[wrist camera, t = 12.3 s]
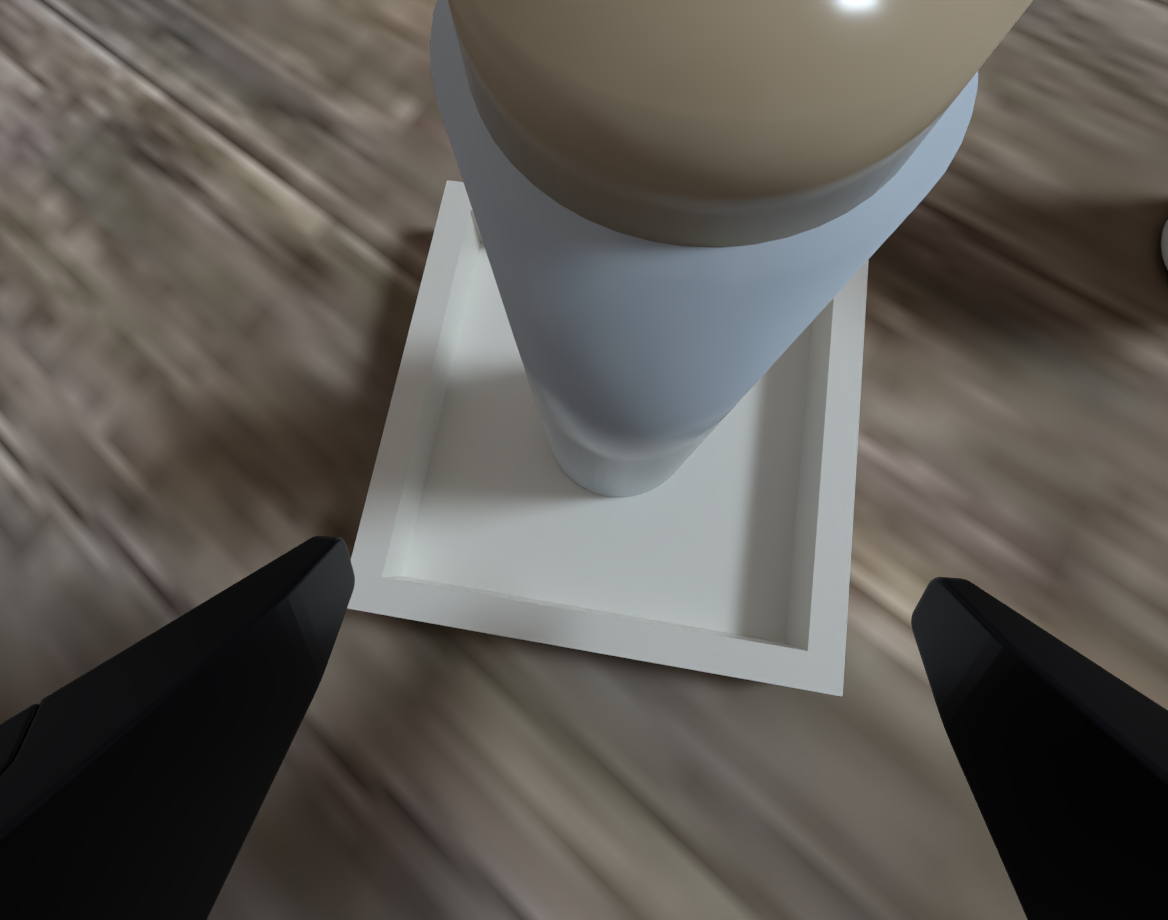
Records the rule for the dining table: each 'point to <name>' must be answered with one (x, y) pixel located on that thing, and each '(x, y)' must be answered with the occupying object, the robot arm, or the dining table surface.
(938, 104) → the spice jar
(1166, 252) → the drinking glass
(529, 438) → the white square dish
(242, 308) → the dining table surface
